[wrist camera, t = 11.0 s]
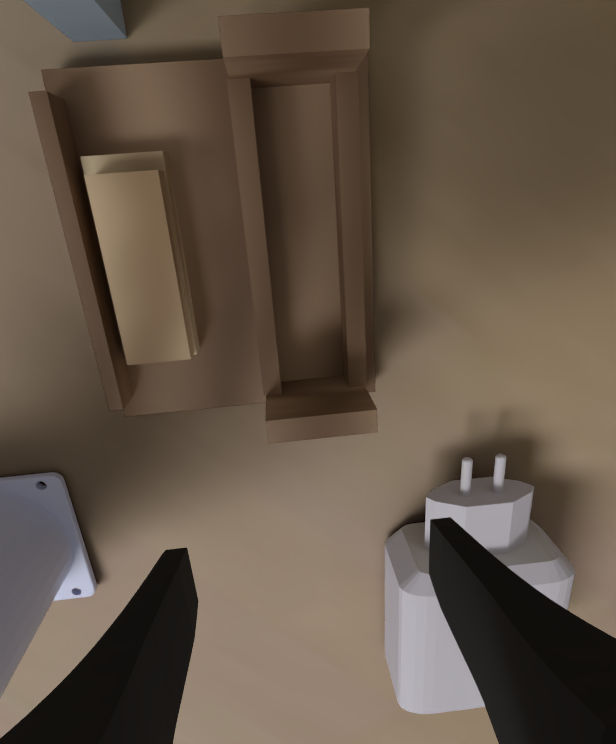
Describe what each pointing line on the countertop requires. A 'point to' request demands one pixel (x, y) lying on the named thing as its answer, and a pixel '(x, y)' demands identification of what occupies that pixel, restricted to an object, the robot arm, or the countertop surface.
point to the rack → (240, 216)
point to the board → (84, 18)
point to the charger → (417, 596)
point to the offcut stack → (143, 254)
